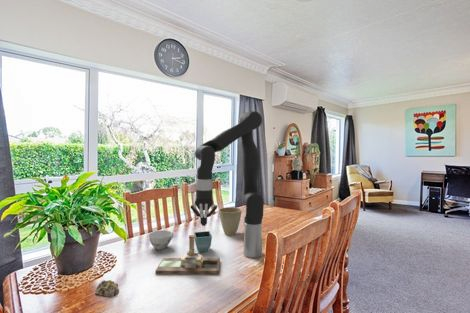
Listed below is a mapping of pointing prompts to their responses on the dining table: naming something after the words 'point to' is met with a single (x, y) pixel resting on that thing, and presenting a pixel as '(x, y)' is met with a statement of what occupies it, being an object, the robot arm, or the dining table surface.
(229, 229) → the plant pot
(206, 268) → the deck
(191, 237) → the beige post stand
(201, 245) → the flower pot
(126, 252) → the dining table surface
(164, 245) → the grey stone bowl
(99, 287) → the mineral rock
